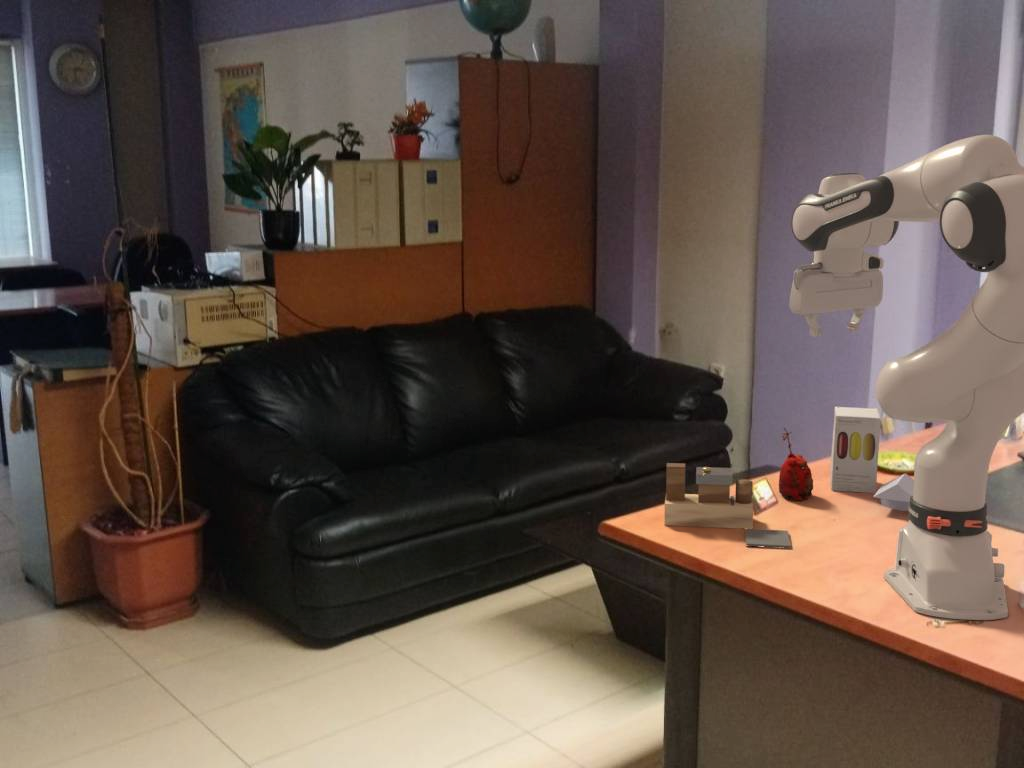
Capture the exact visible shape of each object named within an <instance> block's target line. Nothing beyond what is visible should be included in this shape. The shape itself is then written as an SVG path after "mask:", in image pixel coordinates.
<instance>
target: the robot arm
mask: <svg viewBox="0 0 1024 768" xmlns="http://www.w3.org/2000/svg"><path fill="white" fill-rule="evenodd" d="M900 222H910V223H911V222H915V223H916V222H917V223H920V222H921V223H923V222H924V223H930V222H932V223H935V222H939V228H940V232H941V236H942V238H943V240H944V243H946V245H947V247H949V249H950V250H951V251H952V252H953V253H954V254H955V255H956V256H957V257H958V258H959V259H960V260H962V261H964V262H965V264H966V265H967V267H968V268H970V269H972V270H973V271H976V272H980V273H987V276H986V278H985V280H984V281H983V283H982V285H981V286H980V287H979V288H978V290H977V291H976V293H975V294H974V296H973V297H972V298H971V300H970V302H968V304H967V306H966V308H965V309H963V311H962V312H961V314H960V316H959V317H958V319H956V320H955V322H954V323H953V324H952V325H951V326H950V327H948V328H947V329H946V330H945V331H944V332H942V333H941V334H940V335H938V336H937V337H935V338H933V339H932V340H931V341H929V342H928V343H926V344H924V345H923V346H921V347H920V348H918V349H916V350H915V351H913V352H911V353H909V354H906V355H904V356H902V357H899V358H897V359H893V360H890V361H888V362H886V364H885V365H884V366H883V367H882V368H881V370H880V371H879V373H878V375H877V379H876V384H875V395H876V399H877V403H878V404H879V406H880V408H881V410H882V411H883V413H885V415H887V416H888V417H889V418H890V419H893V420H899V421H904V422H911V423H919V424H925V423H927V424H928V423H929V424H930V423H943V422H944V423H946V422H947V423H946V424H945V426H944V428H943V429H942V431H941V432H940V433H939V434H937V436H936V437H934V438H933V439H932V440H930V441H928V442H927V443H925V444H924V445H922V446H921V447H920V448H919V450H918V452H917V453H916V456H915V460H914V469H913V470H914V471H913V480H914V485H913V495H912V496H911V497H910V503H909V508H908V510H909V511H908V519H909V520H908V522H907V523H906V524H905V525H904V526H903V527H902V528H900V530H898V533H897V541H896V550H895V561H894V567H893V568H889V569H887V570H885V571H884V574H883V578H884V580H885V581H886V582H887V583H888V584H889V585H890V586H891V587H892V588H893V590H895V591H896V592H897V593H898V594H899V597H901V598H902V599H903V600H904V601H905V603H907V605H908V606H910V608H911V610H913V611H914V612H916V613H919V614H921V615H927V616H932V617H937V618H942V619H943V618H944V619H953V620H969V621H971V620H972V621H989V620H990V621H992V620H993V621H994V620H999V619H1005V618H1007V617H1008V616H1009V609H1008V601H1007V597H1006V596H1007V595H1006V590H1005V584H1004V577H1005V564H1004V563H1000V562H994V558H995V557H997V558H998V556H999V548H996V547H992V542H993V541H992V539H993V534H992V533H991V532H990V531H989V530H988V520H989V512H988V505H987V503H986V491H987V484H988V475H989V469H990V463H991V459H992V457H993V454H994V451H995V449H996V446H997V444H998V443H999V441H1000V440H1001V437H1002V436H1003V434H1004V433H1005V432H1006V431H1007V429H1008V428H1009V427H1010V426H1011V424H1013V423H1014V421H1016V419H1018V418H1019V417H1021V415H1023V414H1024V166H1022V165H1021V164H1020V163H1019V161H1018V157H1017V154H1016V152H1015V150H1014V148H1013V147H1012V146H1011V145H1010V144H1009V143H1008V142H1007V141H1006V140H1004V139H1003V138H1001V137H999V136H996V135H993V134H981V135H980V134H979V135H974V136H969V137H966V138H961V139H957V140H955V141H952V142H950V143H948V144H944V145H943V146H941V147H938V148H936V149H934V150H933V151H930V152H929V153H926V154H924V155H922V156H920V157H918V158H916V159H914V160H912V161H910V162H908V163H906V164H904V165H902V166H899V167H897V168H895V169H892V170H890V171H887V172H884V173H883V174H881V175H880V174H879V175H878V176H876V177H873V178H871V179H869V180H866V178H865V175H864V176H863V175H862V174H861V173H856V172H844V173H841V172H840V173H838V174H837V173H835V174H831V175H828V176H825V177H824V178H823V179H822V180H821V182H820V184H819V189H818V193H809V194H806V196H805V197H803V199H801V201H800V202H799V203H798V205H797V206H796V207H795V209H794V210H793V213H792V216H791V230H792V234H793V236H794V238H795V240H796V241H797V242H798V243H799V244H800V245H801V246H802V247H803V248H804V249H806V250H807V251H808V252H810V253H811V252H813V263H808V264H807V263H804V264H803V263H802V264H801V265H800V266H799V267H797V269H795V271H794V273H793V281H792V284H791V290H790V295H789V309H790V311H791V313H792V314H795V315H803V316H804V319H805V321H806V323H807V325H808V326H809V336H810V337H813V338H816V337H821V336H822V334H823V332H822V331H823V327H822V326H819V323H818V320H819V317H820V316H819V315H820V314H823V313H830V312H831V313H832V312H840V311H848V310H851V313H853V314H852V318H851V319H850V321H847V332H851V333H854V332H859V331H860V327H861V322H862V320H863V319H864V316H865V315H866V309H867V308H875V307H879V306H880V304H881V302H882V300H883V295H884V293H883V292H884V277H883V276H884V275H883V272H882V271H881V270H882V269H883V268H884V258H882V257H880V256H877V255H875V254H871V253H868V252H866V251H864V248H878V247H881V246H885V245H888V244H889V242H891V241H892V239H893V238H894V237H895V235H896V234H897V232H898V228H899V225H900V224H899V223H900ZM993 557H994V558H993Z"/></svg>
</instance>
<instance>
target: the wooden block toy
mask: <svg viewBox="0 0 1024 768" xmlns="http://www.w3.org/2000/svg"><path fill="white" fill-rule="evenodd" d="M665 468H666V469H665V470H666V474H665V475H666V476H665V477H666V478H665V479H666V482H665V484H666V485H665V487H666V488H665V492H666V493H665V498H664V526H670V527H672V526H674V527H675V526H676V527H695V528H697V527H700V528H721V529H722V528H723V529H741V528H749V529H751V528H752V529H754V528H753V527H754V526H753V525H754V524H753V523H754V503H753V485H754V484H753V482H754V481H752V480H751V479H742V478H741V479H737V480H735V495H731V494H730V492H731V491H730V489H731V488H730V487H731V485H708V484H698V494H695V493H692V494H691V493H686V463H681V462H680V463H676V462H674V463H673V462H671V463H670V462H667V463H666V467H665Z"/></svg>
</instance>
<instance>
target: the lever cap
mask: <svg viewBox="0 0 1024 768" xmlns="http://www.w3.org/2000/svg"><path fill="white" fill-rule="evenodd" d="M695 468H696V469H695V470H696V472H695V485H699V484H708V485H730V486H733V481H734V479H733V477H734V475H733V474H734V473H733V468H732V467H714V466H713V467H712V466H711V467H710V466H696V467H695Z"/></svg>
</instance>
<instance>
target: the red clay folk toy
mask: <svg viewBox="0 0 1024 768" xmlns="http://www.w3.org/2000/svg"><path fill="white" fill-rule="evenodd" d="M783 430H784V431H785V433H782V436H781V438H782V441H784V442H785V441H786V440H787V442H788V443H787V444H788V445H787V447H788V449H789V454H788V455H787V458H786V459H785V461H784V462H783V463H782V465H781V468H780V472H779V478H778V492H779V493H780V494H781V496H782V497H783V498H785V499H786V500H792V501H794V502H795V501H796V502H797V501H798V502H800V501H804V500H808V499H809V498H810V497H812V495H813V493H812V491H813V489H814V479H813V478H812V477H813V474H812V470H811V468H810V467H809V465H808V461H807V459H806V458H804V457H803V455H801V454H796V455H795V454H794V453H793V452H792V449H791V447H792V446H793V444H792V443H790V437H789V435H790V434H791V433H793V432H794V431H793V430H792V431H790V432H789V431H787V429H786V427H783Z"/></svg>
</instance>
